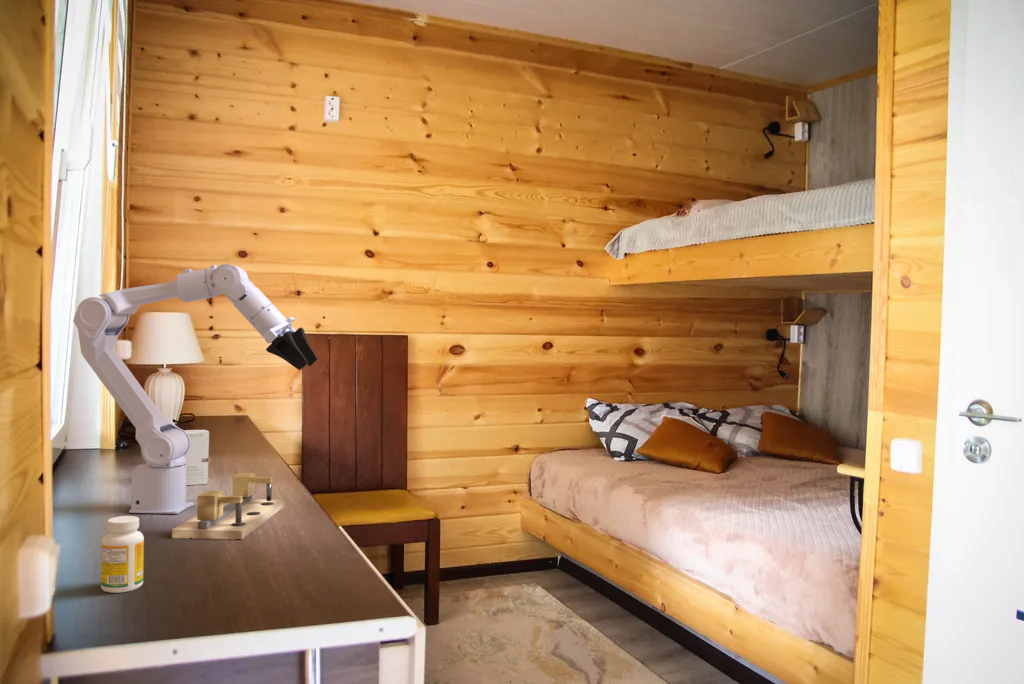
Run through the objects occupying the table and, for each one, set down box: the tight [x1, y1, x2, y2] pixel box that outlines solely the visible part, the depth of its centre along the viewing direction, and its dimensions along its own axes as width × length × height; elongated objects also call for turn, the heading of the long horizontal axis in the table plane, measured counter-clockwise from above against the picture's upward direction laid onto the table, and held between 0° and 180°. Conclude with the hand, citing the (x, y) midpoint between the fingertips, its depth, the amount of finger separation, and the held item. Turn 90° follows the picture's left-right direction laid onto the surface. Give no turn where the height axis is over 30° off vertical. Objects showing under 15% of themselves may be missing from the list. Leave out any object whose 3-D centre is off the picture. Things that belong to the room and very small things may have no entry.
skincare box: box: [183, 429, 210, 486], centre depth 182 cm, size 6×4×12 cm
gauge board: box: [171, 490, 284, 540], centre depth 149 cm, size 12×24×7 cm, turn 179°
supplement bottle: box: [100, 515, 145, 594], centre depth 112 cm, size 5×5×10 cm
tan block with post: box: [232, 472, 274, 501], centre depth 158 cm, size 7×4×5 cm, turn 89°
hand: (309, 364), depth 158 cm, fingers open, 7 cm apart
